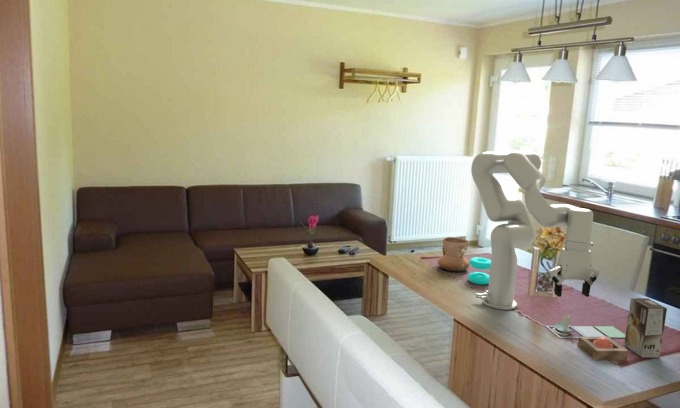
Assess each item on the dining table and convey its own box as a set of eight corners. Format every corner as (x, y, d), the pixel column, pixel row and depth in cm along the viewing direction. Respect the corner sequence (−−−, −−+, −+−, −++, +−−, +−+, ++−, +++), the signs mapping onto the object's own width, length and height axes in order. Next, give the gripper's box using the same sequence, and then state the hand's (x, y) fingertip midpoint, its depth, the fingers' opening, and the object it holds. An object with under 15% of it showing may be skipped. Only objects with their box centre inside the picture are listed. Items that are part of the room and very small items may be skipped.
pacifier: (559, 337, 172) (576, 337, 172) (561, 320, 170) (578, 319, 171) (548, 328, 179) (564, 328, 179) (549, 311, 178) (566, 311, 178)
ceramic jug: (476, 273, 238) (479, 243, 236) (448, 274, 233) (450, 244, 231) (456, 263, 255) (459, 235, 253) (430, 264, 250) (432, 235, 248)
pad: (609, 338, 172) (609, 337, 172) (594, 327, 181) (594, 326, 181) (629, 338, 173) (629, 337, 173) (612, 327, 182) (612, 326, 182)
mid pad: (587, 338, 172) (587, 337, 172) (572, 327, 180) (572, 326, 180) (606, 338, 172) (606, 337, 172) (591, 327, 181) (591, 326, 181)
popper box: (595, 360, 156) (597, 350, 155) (577, 345, 166) (578, 336, 165) (626, 360, 157) (628, 350, 156) (606, 345, 167) (608, 336, 166)
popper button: (598, 355, 158) (600, 341, 157) (588, 347, 164) (590, 334, 163) (615, 355, 159) (617, 341, 158) (604, 347, 164) (606, 334, 163)
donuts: (465, 256, 228) (485, 256, 231) (463, 278, 230) (483, 277, 232) (476, 263, 219) (497, 262, 221) (474, 285, 220) (495, 285, 223)
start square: (559, 338, 170) (559, 337, 170) (545, 326, 180) (545, 325, 180) (587, 338, 171) (587, 337, 171) (571, 326, 181) (571, 325, 181)
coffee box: (660, 358, 159) (668, 308, 157) (641, 357, 159) (649, 308, 156) (641, 344, 168) (648, 297, 166) (622, 344, 168) (629, 297, 165)
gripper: (595, 243, 175) (589, 291, 177) (546, 242, 173) (541, 291, 176) (608, 248, 167) (602, 299, 170) (558, 248, 166) (552, 299, 168)
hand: (571, 295), depth 173 cm, fingers open, 9 cm apart
